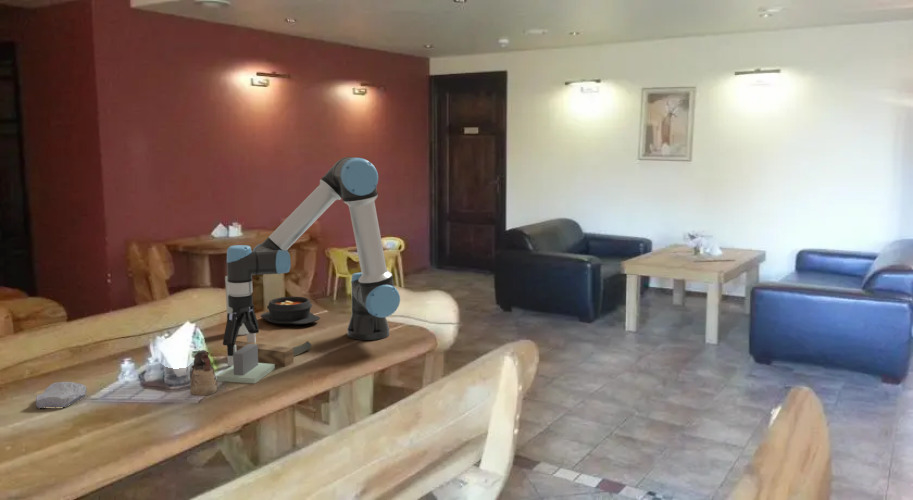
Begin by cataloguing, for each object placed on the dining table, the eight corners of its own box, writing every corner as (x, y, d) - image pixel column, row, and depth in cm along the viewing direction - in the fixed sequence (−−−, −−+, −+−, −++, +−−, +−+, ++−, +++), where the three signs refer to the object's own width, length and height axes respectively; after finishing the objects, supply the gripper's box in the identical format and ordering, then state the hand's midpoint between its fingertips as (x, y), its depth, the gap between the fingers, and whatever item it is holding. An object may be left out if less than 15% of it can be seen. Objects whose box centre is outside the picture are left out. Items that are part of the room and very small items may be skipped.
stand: (274, 368, 229) (274, 343, 228) (254, 383, 215) (253, 357, 214) (238, 366, 231) (237, 341, 230) (216, 380, 218) (215, 354, 216)
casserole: (330, 321, 287) (330, 300, 286) (296, 332, 271) (296, 309, 270) (284, 312, 300) (283, 292, 299) (249, 322, 284) (248, 301, 283)
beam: (293, 363, 235) (293, 348, 235) (285, 367, 231) (284, 352, 230) (236, 355, 243) (236, 340, 243) (227, 359, 239) (227, 344, 238)
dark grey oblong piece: (283, 360, 238) (282, 349, 238) (275, 357, 242) (274, 346, 241) (317, 353, 247) (317, 342, 246) (309, 350, 250) (308, 339, 250)
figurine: (210, 385, 214) (208, 345, 212) (222, 391, 209) (220, 350, 207) (186, 391, 209) (184, 350, 207) (197, 397, 204) (195, 355, 202)
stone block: (89, 399, 207) (52, 394, 206) (91, 383, 206) (54, 377, 205) (71, 417, 195) (31, 411, 194) (73, 400, 195) (34, 394, 193)
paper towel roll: (254, 332, 270) (252, 274, 266) (241, 336, 265) (238, 277, 261) (240, 329, 274) (238, 272, 270) (227, 333, 268) (225, 275, 265)
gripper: (247, 285, 248) (248, 347, 251) (209, 302, 223) (212, 369, 227) (268, 286, 246) (269, 348, 250) (232, 303, 222) (235, 371, 225)
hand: (242, 358), depth 238 cm, fingers open, 13 cm apart
